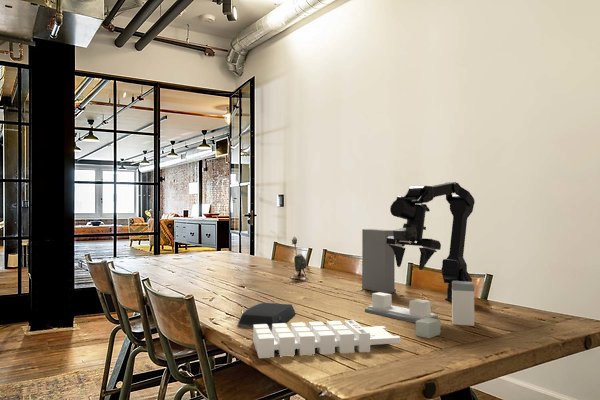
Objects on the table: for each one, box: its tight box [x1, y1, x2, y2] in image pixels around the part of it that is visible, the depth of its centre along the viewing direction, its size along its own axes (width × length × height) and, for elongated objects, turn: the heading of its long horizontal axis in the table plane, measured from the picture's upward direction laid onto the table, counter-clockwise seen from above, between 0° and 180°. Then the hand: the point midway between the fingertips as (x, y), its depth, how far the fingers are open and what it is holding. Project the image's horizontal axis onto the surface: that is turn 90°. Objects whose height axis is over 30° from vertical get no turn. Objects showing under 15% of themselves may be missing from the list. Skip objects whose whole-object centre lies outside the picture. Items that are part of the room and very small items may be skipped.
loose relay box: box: [415, 317, 441, 339], centre depth 129 cm, size 6×4×4 cm, turn 135°
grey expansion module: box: [451, 281, 475, 327], centre depth 142 cm, size 5×6×12 cm
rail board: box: [364, 292, 439, 324], centre depth 152 cm, size 10×21×6 cm, turn 41°
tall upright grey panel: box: [361, 228, 397, 294], centre depth 195 cm, size 14×6×25 cm, turn 34°
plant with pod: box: [289, 236, 309, 280], centre depth 225 cm, size 8×11×20 cm
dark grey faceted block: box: [237, 302, 297, 330], centre depth 145 cm, size 13×19×4 cm
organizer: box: [252, 319, 401, 359], centre depth 118 cm, size 13×5×35 cm
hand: (409, 268), depth 158 cm, fingers open, 9 cm apart
